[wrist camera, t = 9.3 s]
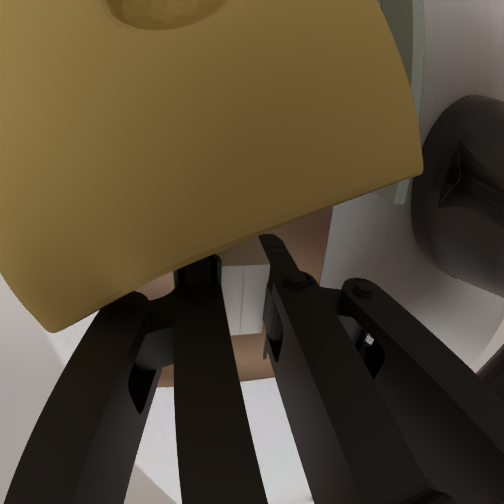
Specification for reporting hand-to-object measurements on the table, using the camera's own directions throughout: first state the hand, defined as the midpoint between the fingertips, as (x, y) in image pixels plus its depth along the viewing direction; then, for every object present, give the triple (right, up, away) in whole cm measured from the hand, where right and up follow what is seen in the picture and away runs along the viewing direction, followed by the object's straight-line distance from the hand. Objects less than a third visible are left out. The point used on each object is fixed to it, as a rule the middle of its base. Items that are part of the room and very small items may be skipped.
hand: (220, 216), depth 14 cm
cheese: (-2, +7, -2) cm, 7 cm away
